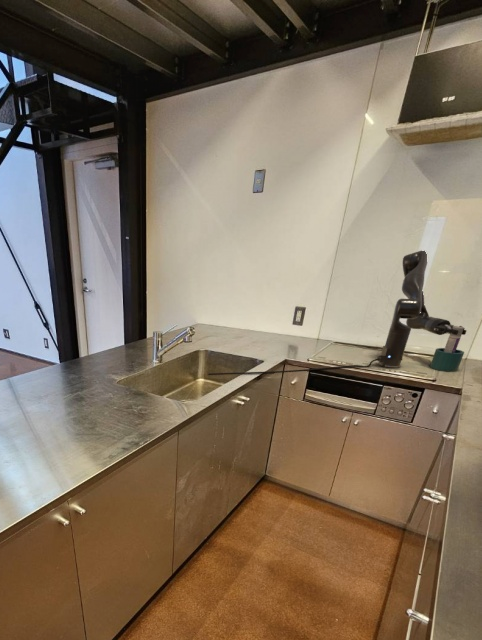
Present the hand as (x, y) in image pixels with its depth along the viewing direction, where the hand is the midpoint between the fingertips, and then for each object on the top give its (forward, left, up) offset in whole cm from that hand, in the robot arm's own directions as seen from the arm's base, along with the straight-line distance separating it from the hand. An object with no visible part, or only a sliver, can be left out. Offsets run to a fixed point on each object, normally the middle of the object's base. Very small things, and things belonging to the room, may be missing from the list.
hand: (461, 332), depth 183 cm
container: (-1, +3, -13) cm, 14 cm away
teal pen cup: (0, +3, -18) cm, 19 cm away
